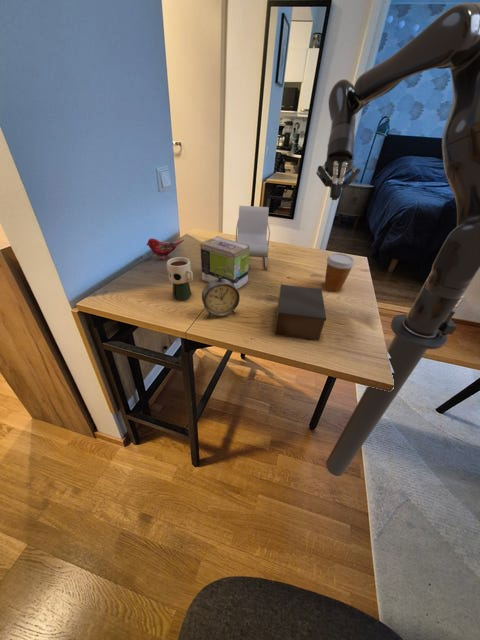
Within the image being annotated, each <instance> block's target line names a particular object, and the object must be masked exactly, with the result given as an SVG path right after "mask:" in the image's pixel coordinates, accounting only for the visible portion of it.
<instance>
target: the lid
mask: <svg viewBox="0 0 480 640" xmlns="http://www.w3.org/2000/svg"><path fill="white" fill-rule="evenodd" d="M279 293H280V300H279V314H278V315H284V316H292V317H299V318H307V319H315V320H322V321H325V322H326V321H327V313H326V307H325V303H324V302H325V301H324V296H323V290H322V288H316V287H308V286H300V285H290V284H282V283H281V284H280V288H279Z"/></svg>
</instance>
